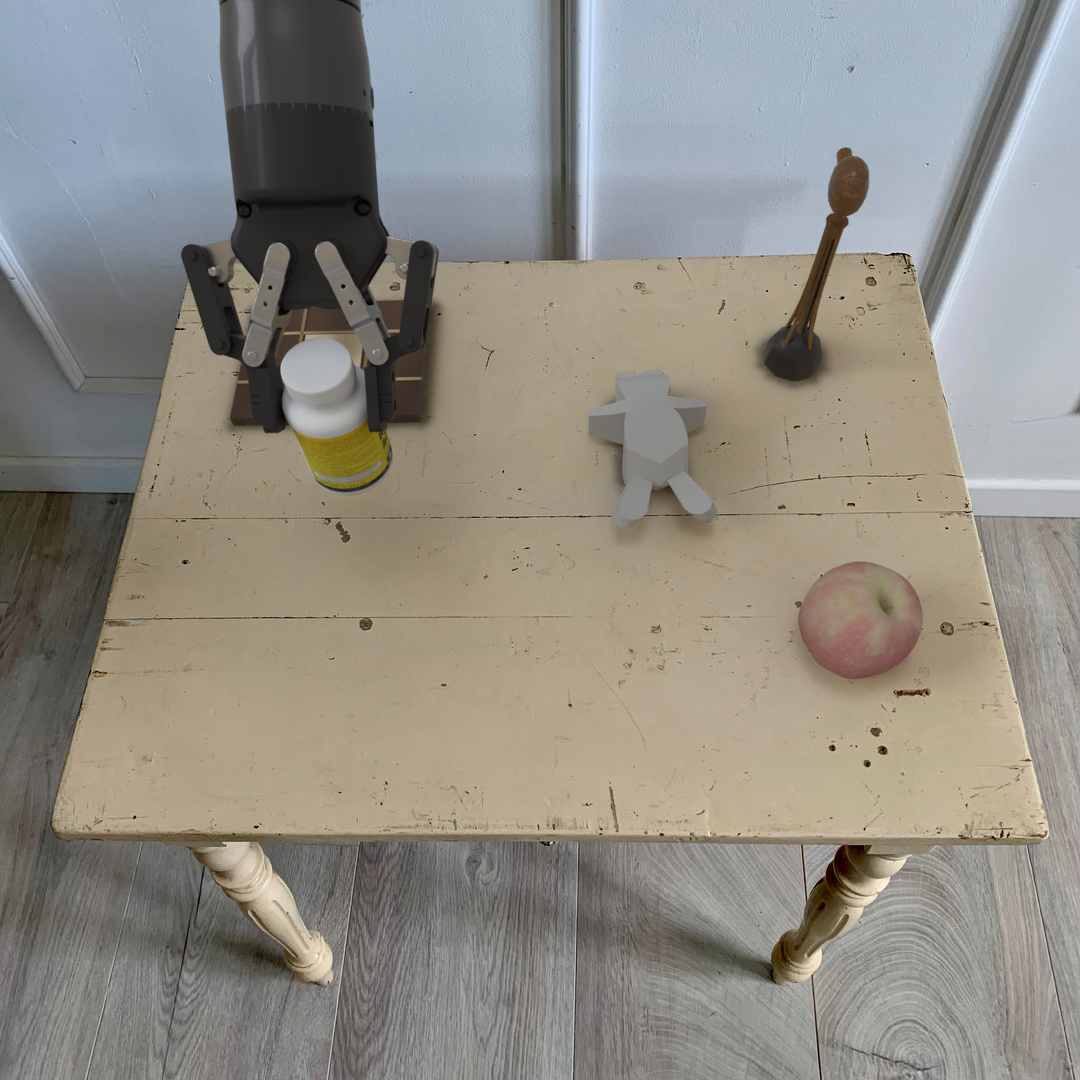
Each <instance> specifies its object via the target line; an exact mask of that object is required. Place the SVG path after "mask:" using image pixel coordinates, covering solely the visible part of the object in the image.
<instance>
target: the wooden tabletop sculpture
mask: <svg viewBox="0 0 1080 1080" xmlns="http://www.w3.org/2000/svg"><path fill="white" fill-rule="evenodd" d="M830 175H831V176H830V178H829V182H828V188H827V201H828V205H829V207H830V209H831V211H832V213H829V214H828V215H827V216H826V217H825V226H824V229H823V232H822V235H821V239H820V241H819V245H818V248H817V251H816V253H815V257H814V260H813V262H812V266H811V269H810V272H809V274H808V277H807V280H806V282H805V285H804V287H803V290H802V292H801V295H800V298H799V299H798V302H797V303H796V307H795V308H794V310H793V313H792V314H791V316H790V318H789V319H788V320H787V322H786V324H785V325H784V326H782V327H780V328H779V329H778V330H777V331H776V332H775V333H774V334H773V335H772V336H771V337H770V338H769V339H768V340H767V343H766V344H765V346H764V350H763V353H764V354H763V355H764V358H763V359H764V361H763V362H764V363H763V364H764V365H765V366H766V368H767V369H768V370H769V371H770V372H771V373H772V374H773V375H774V376H775V377H778V378H780V379H785V380H788V381H791V382H795V381H800V380H805V379H810V378H811V377H812V375H814V373H815V372H816V371H817V370H818V369H819V368H820V365H821V363H822V355H823V353H822V341H821V338H820V337H819V336H818V335H817V333H816V332H815V331H814V330H815V326H816V322H817V321H816V320H817V316H818V311H819V308H820V303H821V299H822V297H823V292H824V289H825V286H826V282H827V280H828V276H829V274H830V271H831V270H830V269H831V267H832V264H833V261H834V259H835V256H836V252H837V250H838V247H839V244H840V240H841V238H842V235H843V232H844V229H846V228H847V227H848V226H849V224H850V223H849V222H850V221H849V216H852V215H854V214H856V213H857V212H858V211H859V210H860V209H861V207H862V206H863V204H864V202H865V201H866V199H867V195H868V191H869V188H870V170H869V165H868V164H867V163H866V162H865V160H864V159H863V158H861V157H859V156H856V155H853V150H852V149H851V148H850V147H844V146H843V147H841V148H840V149H838V150H837V152H836V165H835V166H834V167H833V171H832V172H831V174H830Z"/></svg>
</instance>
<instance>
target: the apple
mask: <svg viewBox="0 0 1080 1080" xmlns="http://www.w3.org/2000/svg"><path fill="white" fill-rule="evenodd" d="M919 597H920V596H919V595H918V594H917V591H916V589H915V588H914V587H913V585H912V584H911V582H910V581H909V580H908V579H907V578H906V577H905V576H904V575H902V574H900V573H898V572H897V571H895V570H893V569H891V568H889V567H887V566H885V565H881V564H879V563H878V564H877V563H874V562H870V561H861V560H860V561H850V562H847V563H844V564H841V565H838V566H836V567H833V568H831V569H829V570H828V571H826V572H824V574H822V575H821V576H820V577H819V578H818V579H817V580H815V582H813V584H812V585H811V587H810V588H809V589H808V591H807V593H806V595H805V596H804V598H803V600H802V603H801V605H800V608H799V612H798V619H797V624H798V628H799V632H800V636H801V639H802V641H803V643H804V645H805V647H806V649H807V650H808V652H809V653H810V655H811V656H812V657H813V659H814V661H815V662H816V663H817V664H818V665H819V666H820V667H821V668H823V669H825V670H826V671H828V672H830V673H831V674H833V675H836V676H838V677H840V678H843V679H844V678H845V679H850V680H860V679H861V680H862V679H867V678H872V677H875V676H878V675H882V674H884V673H887V672H888V671H891V670H892V669H894V668H896V667H897V666H899V665H900V664H901V663H902V662H904V661H905V660H906V659H907V658H908V657H909V655H910V654H911V653H912V651H913V649H914V648H915V647H916V645H917V643H918V641H919V638H920V635H921V632H922V628H923V622H924V619H923V618H924V616H923V615H924V614H923V609H922V604H921V600H920V598H919Z"/></svg>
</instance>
